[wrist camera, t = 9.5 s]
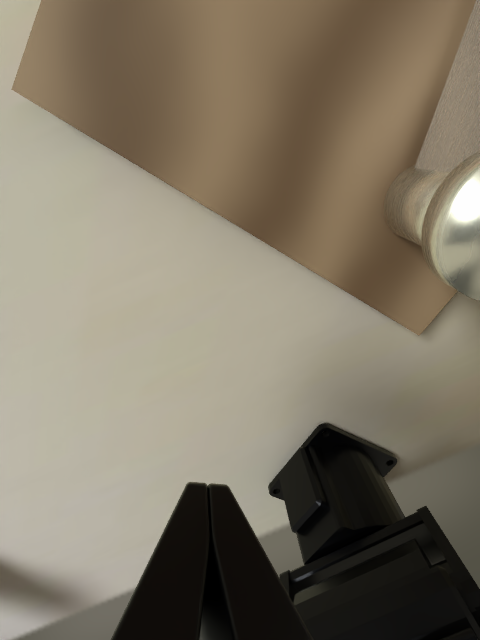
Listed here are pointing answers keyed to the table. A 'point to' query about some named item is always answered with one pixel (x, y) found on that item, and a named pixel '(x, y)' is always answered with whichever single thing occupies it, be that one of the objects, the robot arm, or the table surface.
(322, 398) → the table surface
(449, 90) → the bar with metal cap
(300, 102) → the brown cutting board
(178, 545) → the robot arm
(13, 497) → the table surface
